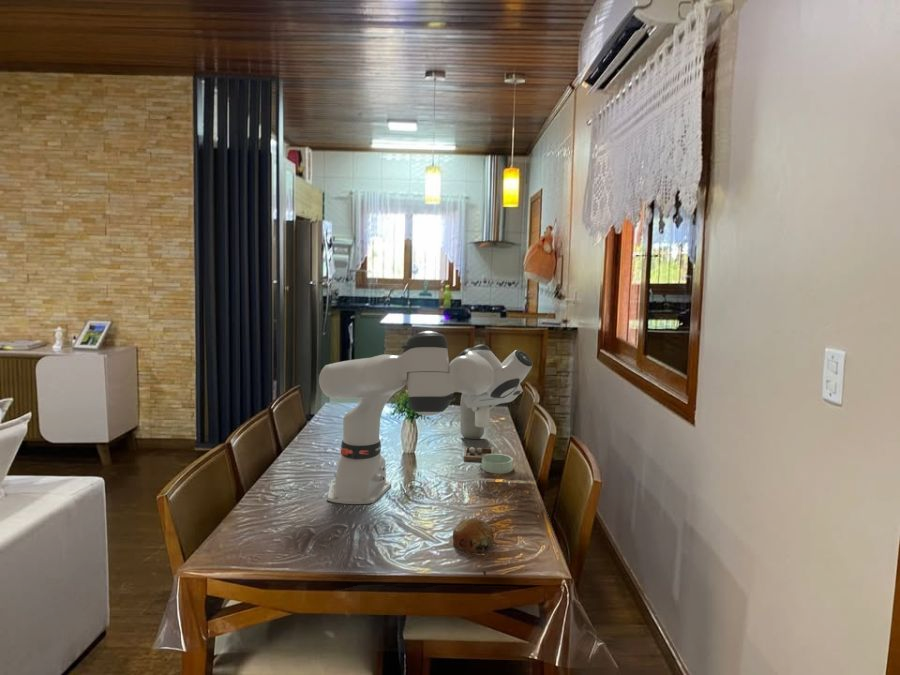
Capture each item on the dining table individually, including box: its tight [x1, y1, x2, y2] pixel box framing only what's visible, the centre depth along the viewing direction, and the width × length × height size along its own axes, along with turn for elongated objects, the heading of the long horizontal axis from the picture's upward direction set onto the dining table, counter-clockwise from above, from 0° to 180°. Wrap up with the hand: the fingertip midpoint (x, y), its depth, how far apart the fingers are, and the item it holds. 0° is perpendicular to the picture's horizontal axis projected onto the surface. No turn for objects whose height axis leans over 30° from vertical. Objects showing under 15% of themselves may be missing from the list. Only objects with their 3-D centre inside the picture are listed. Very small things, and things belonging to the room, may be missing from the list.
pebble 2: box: [476, 447, 482, 454], centre depth 220 cm, size 2×2×2 cm
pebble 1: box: [469, 446, 476, 454], centre depth 220 cm, size 2×2×2 cm
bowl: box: [481, 453, 514, 474], centre depth 205 cm, size 10×10×4 cm
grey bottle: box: [459, 393, 485, 440], centre depth 241 cm, size 10×10×28 cm
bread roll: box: [452, 517, 495, 554], centre depth 151 cm, size 10×10×8 cm
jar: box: [475, 405, 491, 428], centre depth 213 cm, size 5×5×11 cm
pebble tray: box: [463, 447, 494, 463], centre depth 217 cm, size 11×10×2 cm
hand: (481, 408), depth 214 cm, fingers closed on jar, 5 cm apart
